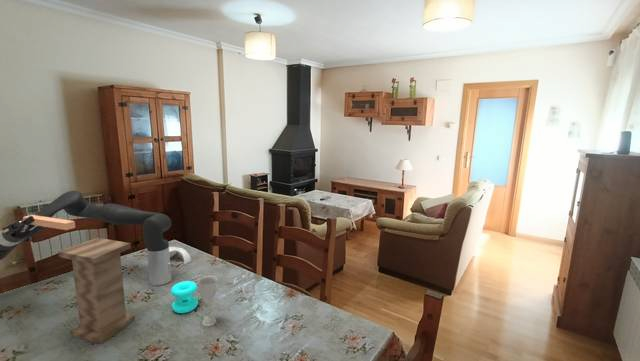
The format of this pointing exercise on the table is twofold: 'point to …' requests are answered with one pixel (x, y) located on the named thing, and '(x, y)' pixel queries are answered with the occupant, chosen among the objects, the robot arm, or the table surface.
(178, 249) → the white arch
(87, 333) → the stand
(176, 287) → the cyan spool
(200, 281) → the chalice
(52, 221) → the bar
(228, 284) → the table surface
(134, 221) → the robot arm
